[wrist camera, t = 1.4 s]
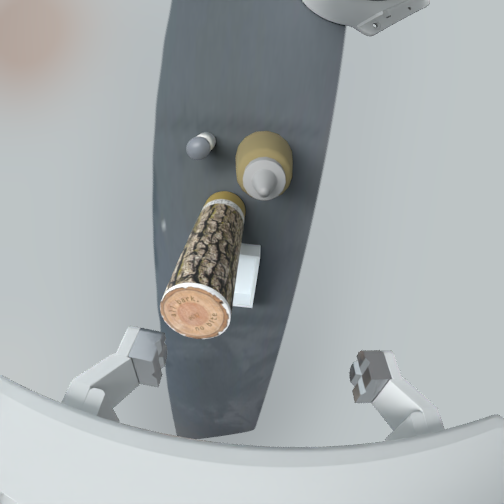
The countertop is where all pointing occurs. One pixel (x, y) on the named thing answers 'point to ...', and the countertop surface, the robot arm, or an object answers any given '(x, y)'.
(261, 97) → the countertop surface
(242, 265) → the tray
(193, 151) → the sample vial
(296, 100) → the countertop surface
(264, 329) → the countertop surface
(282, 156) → the squeeze bottle
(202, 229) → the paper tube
